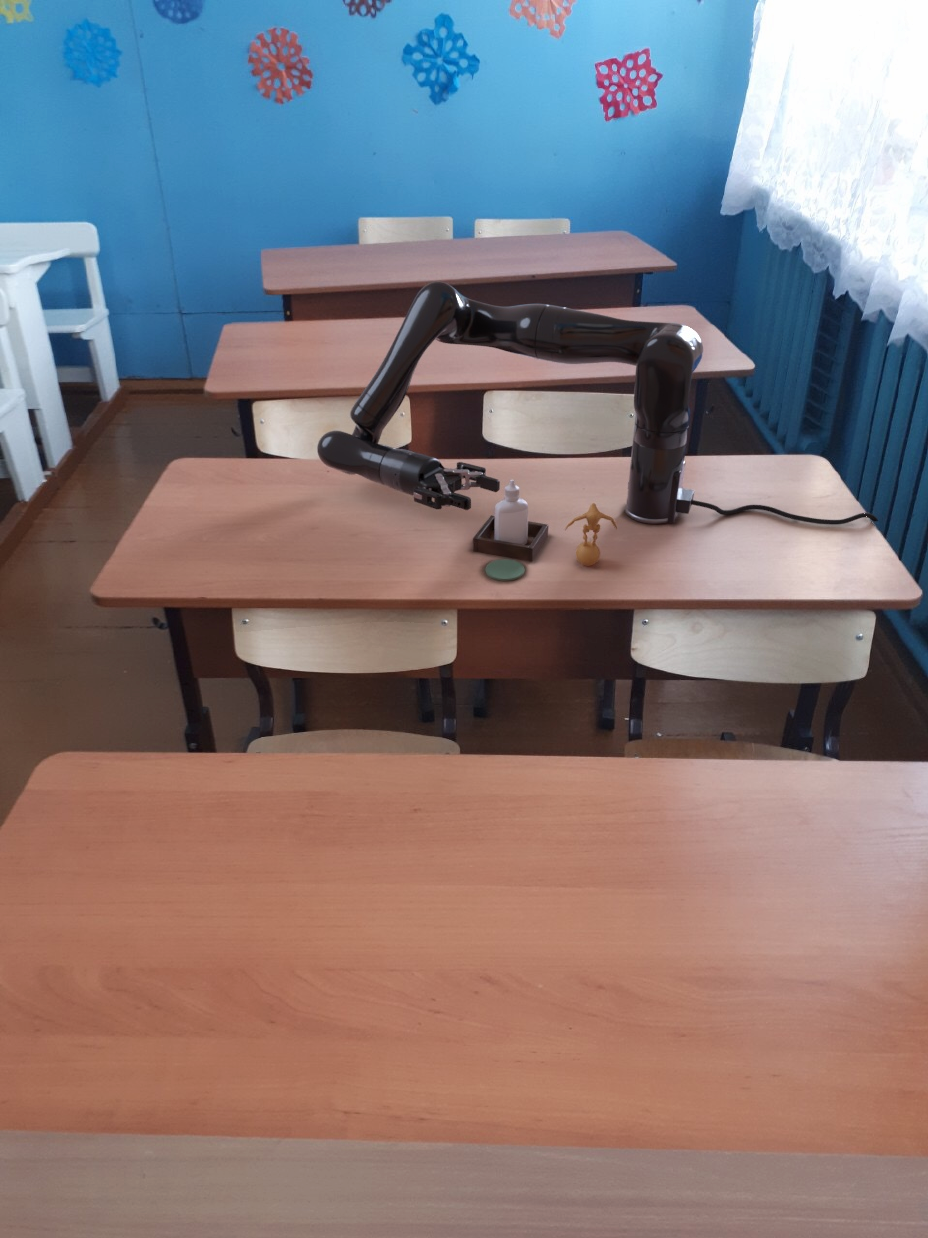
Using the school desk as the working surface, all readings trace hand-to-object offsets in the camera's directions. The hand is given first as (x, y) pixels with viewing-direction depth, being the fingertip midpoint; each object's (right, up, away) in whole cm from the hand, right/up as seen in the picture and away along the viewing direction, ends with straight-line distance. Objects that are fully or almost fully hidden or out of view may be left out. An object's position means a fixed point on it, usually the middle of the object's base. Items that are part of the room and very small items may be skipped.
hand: (484, 495), depth 150 cm
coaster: (+3, -13, -6) cm, 15 cm away
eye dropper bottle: (+5, -8, +2) cm, 10 cm away
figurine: (+17, -13, -5) cm, 22 cm away
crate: (+5, -8, +2) cm, 10 cm away
